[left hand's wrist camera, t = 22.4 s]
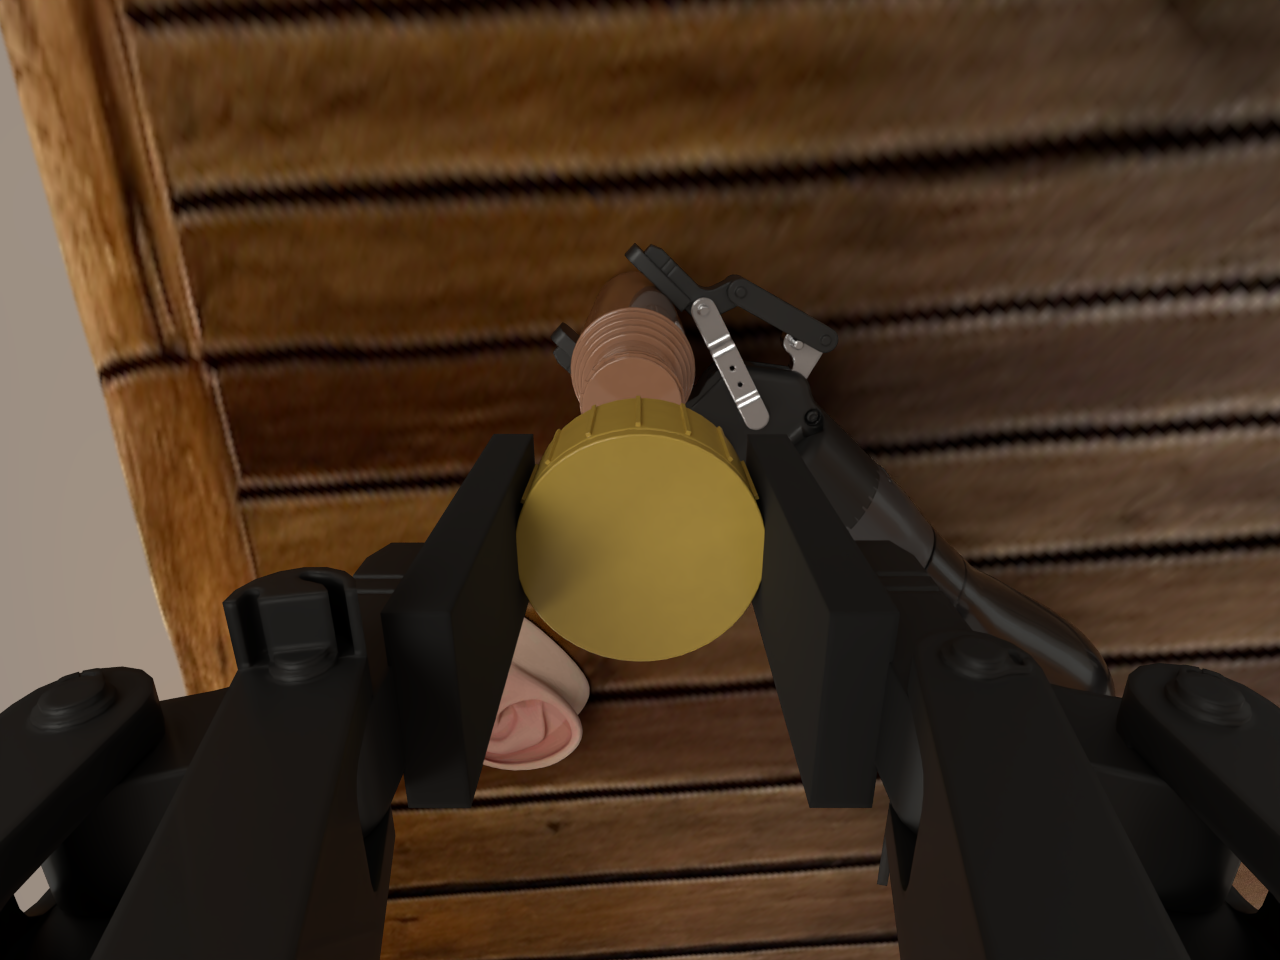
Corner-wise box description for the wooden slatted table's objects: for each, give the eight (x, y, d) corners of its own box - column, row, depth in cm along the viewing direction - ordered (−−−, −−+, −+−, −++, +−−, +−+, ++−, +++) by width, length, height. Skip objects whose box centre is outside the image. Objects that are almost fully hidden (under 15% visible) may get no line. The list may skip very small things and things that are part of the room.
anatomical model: (334, 680, 45) (482, 592, 43) (357, 644, 49) (495, 561, 47) (466, 819, 49) (607, 744, 47) (478, 776, 53) (609, 704, 51)
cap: (792, 470, 14) (820, 520, 12) (670, 629, 15) (675, 701, 13) (605, 351, 13) (598, 381, 11) (493, 530, 15) (467, 589, 12)
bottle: (680, 344, 42) (719, 463, 22) (603, 360, 42) (574, 490, 23) (666, 263, 40) (694, 316, 21) (586, 280, 41) (539, 347, 21)
